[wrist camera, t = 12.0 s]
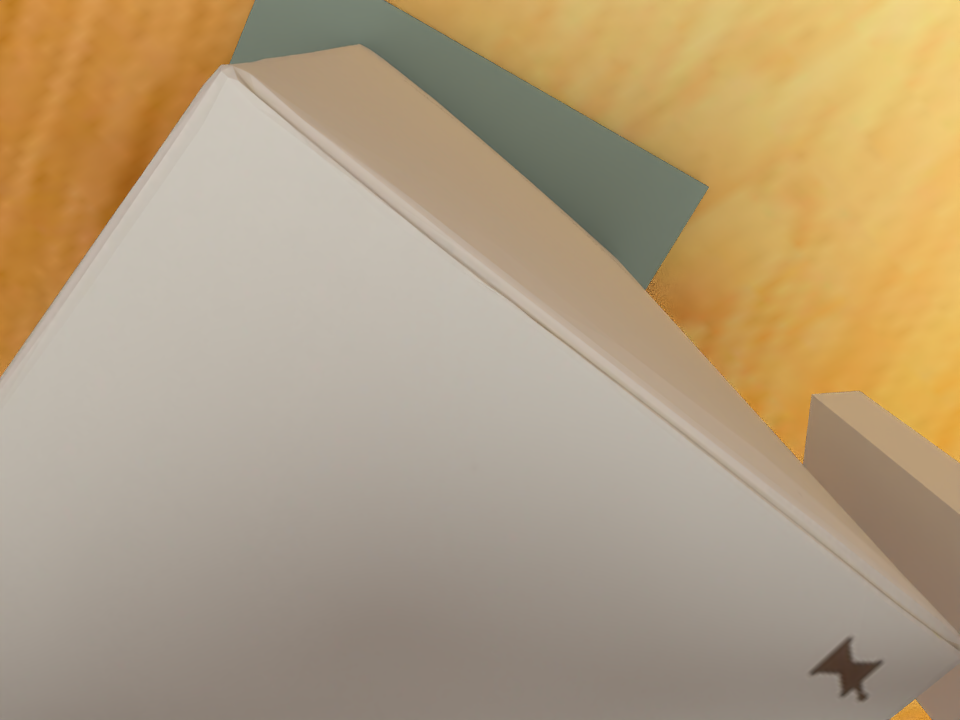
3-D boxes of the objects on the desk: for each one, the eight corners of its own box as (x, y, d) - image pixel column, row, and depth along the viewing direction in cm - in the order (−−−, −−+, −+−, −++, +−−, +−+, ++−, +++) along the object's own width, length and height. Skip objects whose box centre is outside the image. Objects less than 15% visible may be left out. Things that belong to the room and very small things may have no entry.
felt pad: (490, 530, 25) (491, 538, 24) (106, 374, 22) (101, 379, 22) (703, 184, 21) (709, 187, 21) (282, -59, 18) (279, -60, 18)
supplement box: (356, 27, 19) (225, -7, 5) (625, 260, 22) (1021, 659, 8) (145, 313, 21) (-361, 848, 7) (414, 493, 24) (427, 1134, 10)
